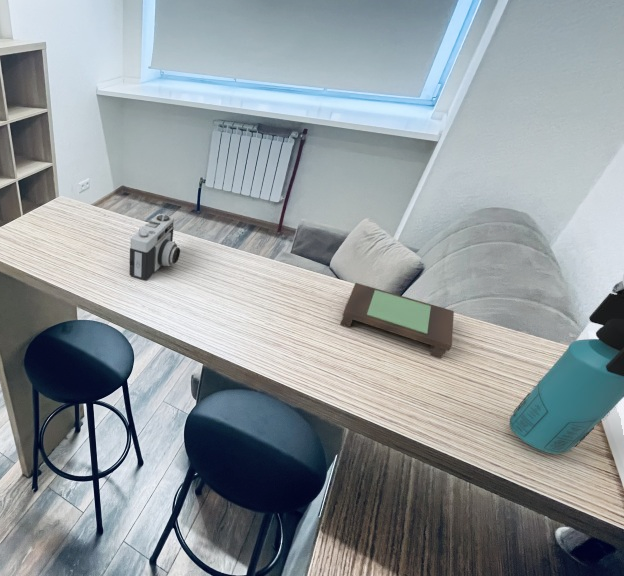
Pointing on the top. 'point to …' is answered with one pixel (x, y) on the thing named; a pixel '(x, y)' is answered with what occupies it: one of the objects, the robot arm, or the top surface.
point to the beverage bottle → (572, 394)
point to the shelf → (401, 317)
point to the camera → (153, 247)
